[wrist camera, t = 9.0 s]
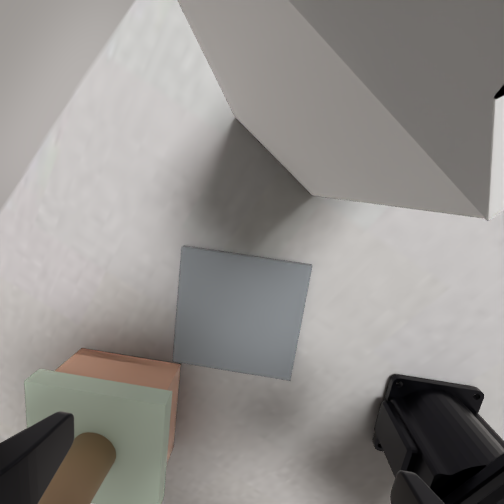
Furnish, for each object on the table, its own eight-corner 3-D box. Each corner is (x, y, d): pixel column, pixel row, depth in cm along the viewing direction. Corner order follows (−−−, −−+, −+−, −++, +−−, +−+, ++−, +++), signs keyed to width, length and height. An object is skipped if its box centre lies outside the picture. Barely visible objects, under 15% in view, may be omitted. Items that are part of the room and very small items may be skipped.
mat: (311, 264, 19) (312, 266, 18) (289, 376, 21) (290, 380, 21) (183, 245, 19) (181, 247, 19) (174, 357, 21) (172, 361, 21)
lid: (172, 390, 18) (122, 493, 12) (164, 496, 20) (117, 629, 14) (39, 368, 18) (-75, 457, 12) (45, 474, 20) (-51, 595, 14)
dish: (180, 364, 21) (163, 397, 18) (173, 446, 23) (156, 490, 20) (81, 348, 22) (46, 377, 18) (82, 430, 24) (50, 471, 20)
